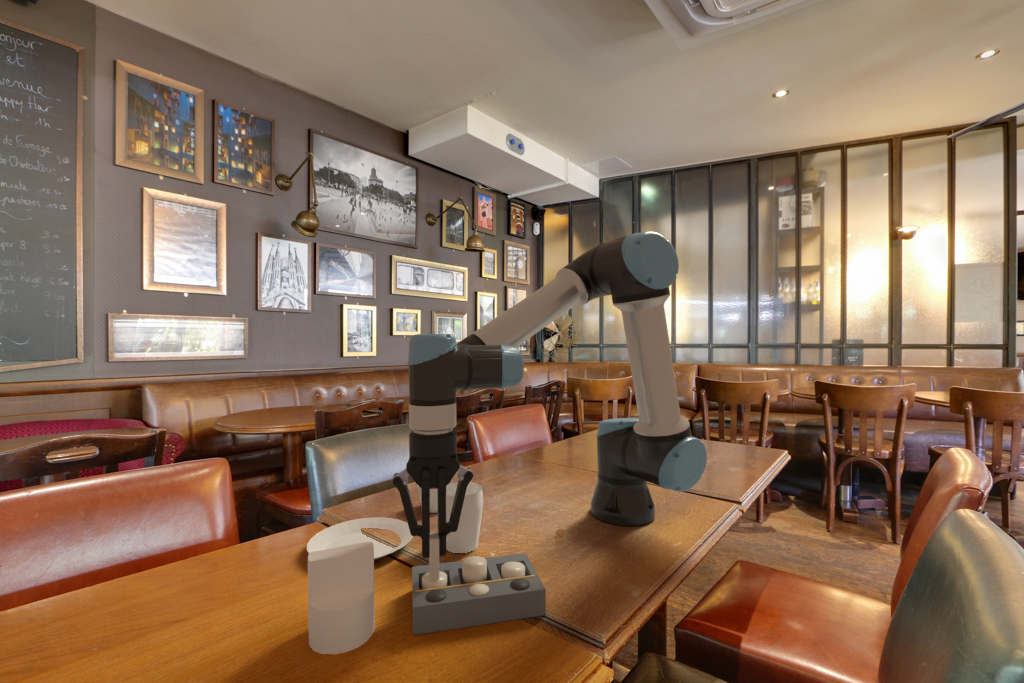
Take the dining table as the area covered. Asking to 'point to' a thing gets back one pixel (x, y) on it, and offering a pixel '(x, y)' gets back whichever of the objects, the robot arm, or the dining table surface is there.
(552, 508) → the dining table surface
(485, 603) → the board
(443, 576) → the button
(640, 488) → the robot arm
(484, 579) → the button
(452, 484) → the cup
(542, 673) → the dining table surface
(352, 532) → the plate
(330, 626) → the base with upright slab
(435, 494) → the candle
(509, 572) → the button
